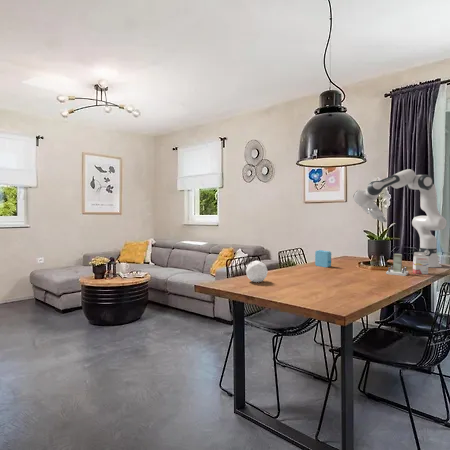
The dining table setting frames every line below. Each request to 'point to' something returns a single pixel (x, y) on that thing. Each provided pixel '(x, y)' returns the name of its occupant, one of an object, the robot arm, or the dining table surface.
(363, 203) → the robot arm
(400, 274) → the mounting plate
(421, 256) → the ink cartridge box
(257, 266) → the geodesic sphere
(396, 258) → the sage spacer block
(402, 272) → the standoff pins
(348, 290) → the dining table surface
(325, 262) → the data package
